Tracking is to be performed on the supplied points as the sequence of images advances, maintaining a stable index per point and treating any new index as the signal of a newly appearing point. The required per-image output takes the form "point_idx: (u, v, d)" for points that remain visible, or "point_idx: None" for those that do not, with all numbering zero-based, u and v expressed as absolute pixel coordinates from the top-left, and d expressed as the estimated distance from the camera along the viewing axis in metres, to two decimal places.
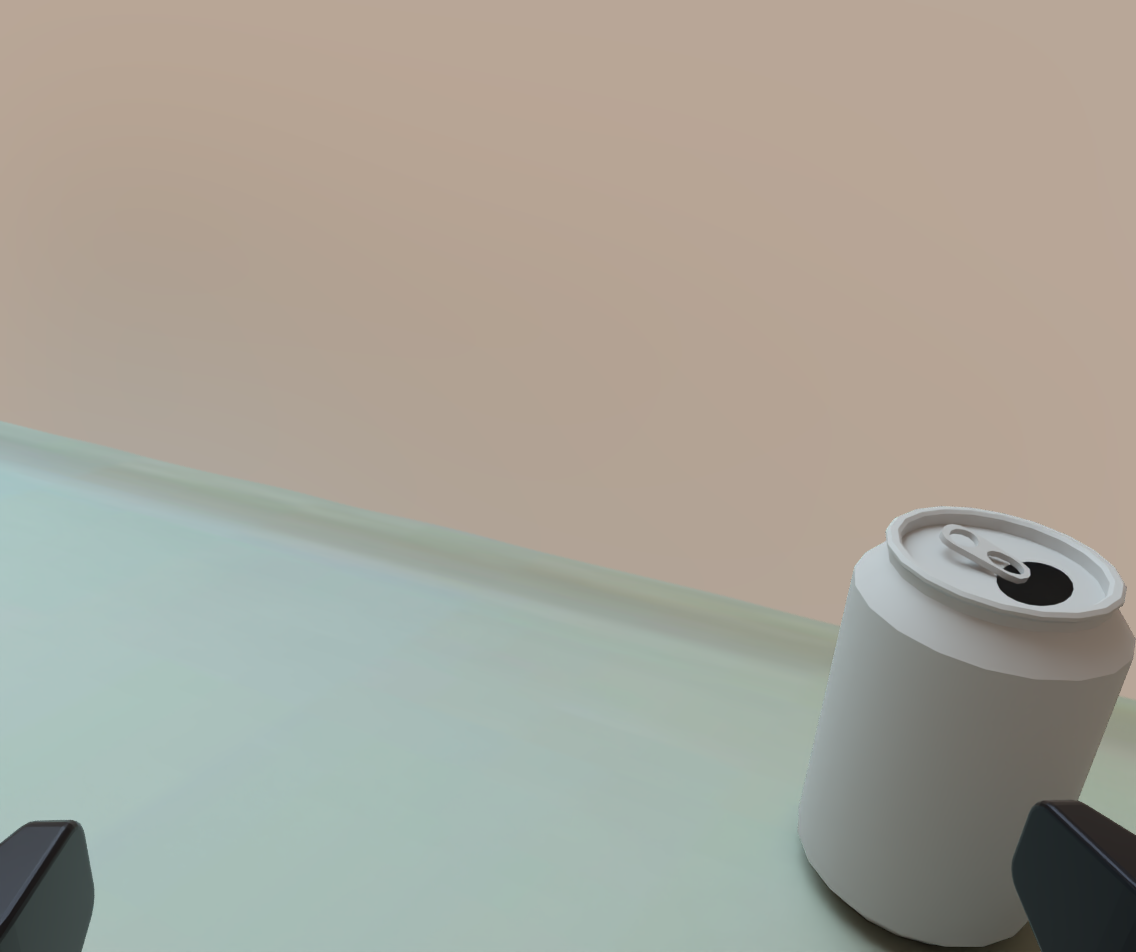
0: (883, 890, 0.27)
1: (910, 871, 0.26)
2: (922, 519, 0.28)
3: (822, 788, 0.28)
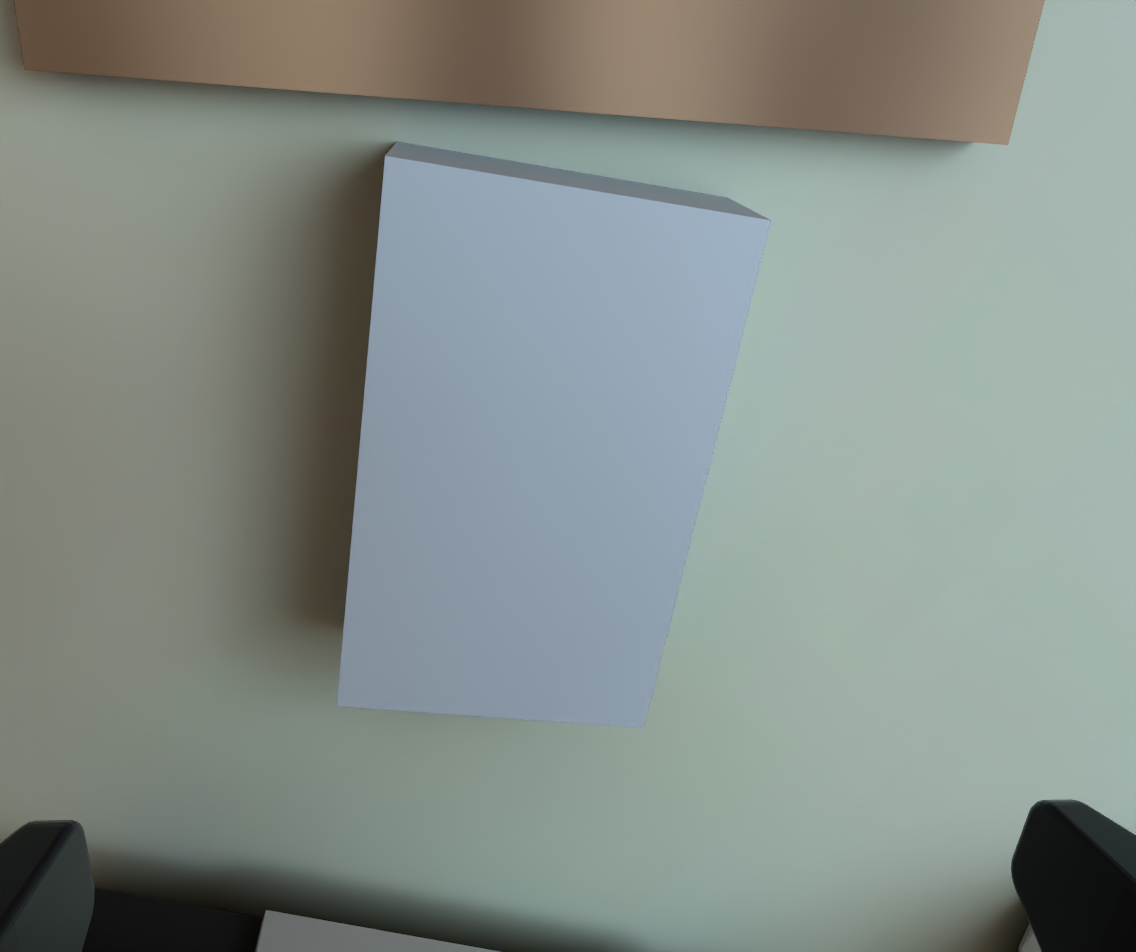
0: None
1: None
2: None
3: None
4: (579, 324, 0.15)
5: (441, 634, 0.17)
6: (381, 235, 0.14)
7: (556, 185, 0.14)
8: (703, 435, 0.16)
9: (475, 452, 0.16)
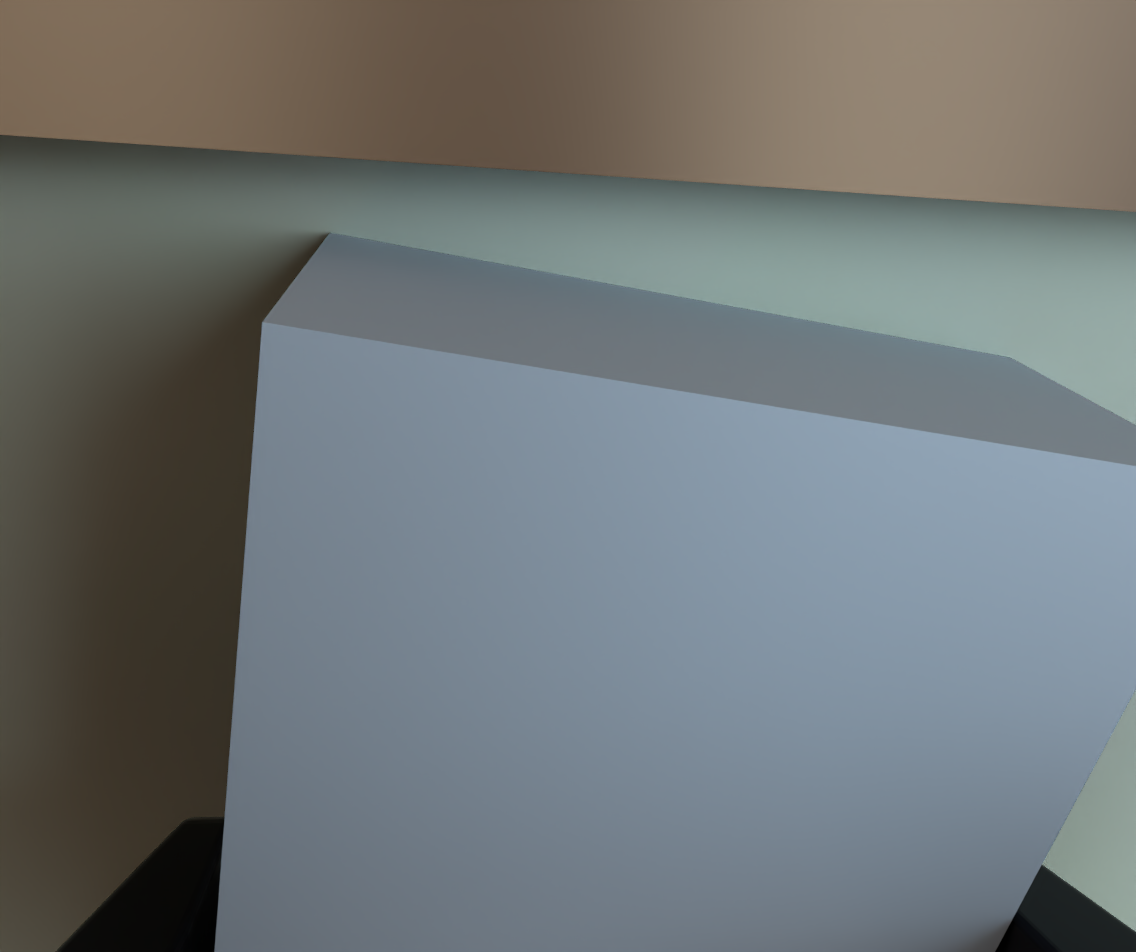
0: None
1: None
2: None
3: None
4: (750, 709, 0.06)
5: None
6: (256, 520, 0.05)
7: (730, 403, 0.05)
8: (990, 906, 0.07)
9: None
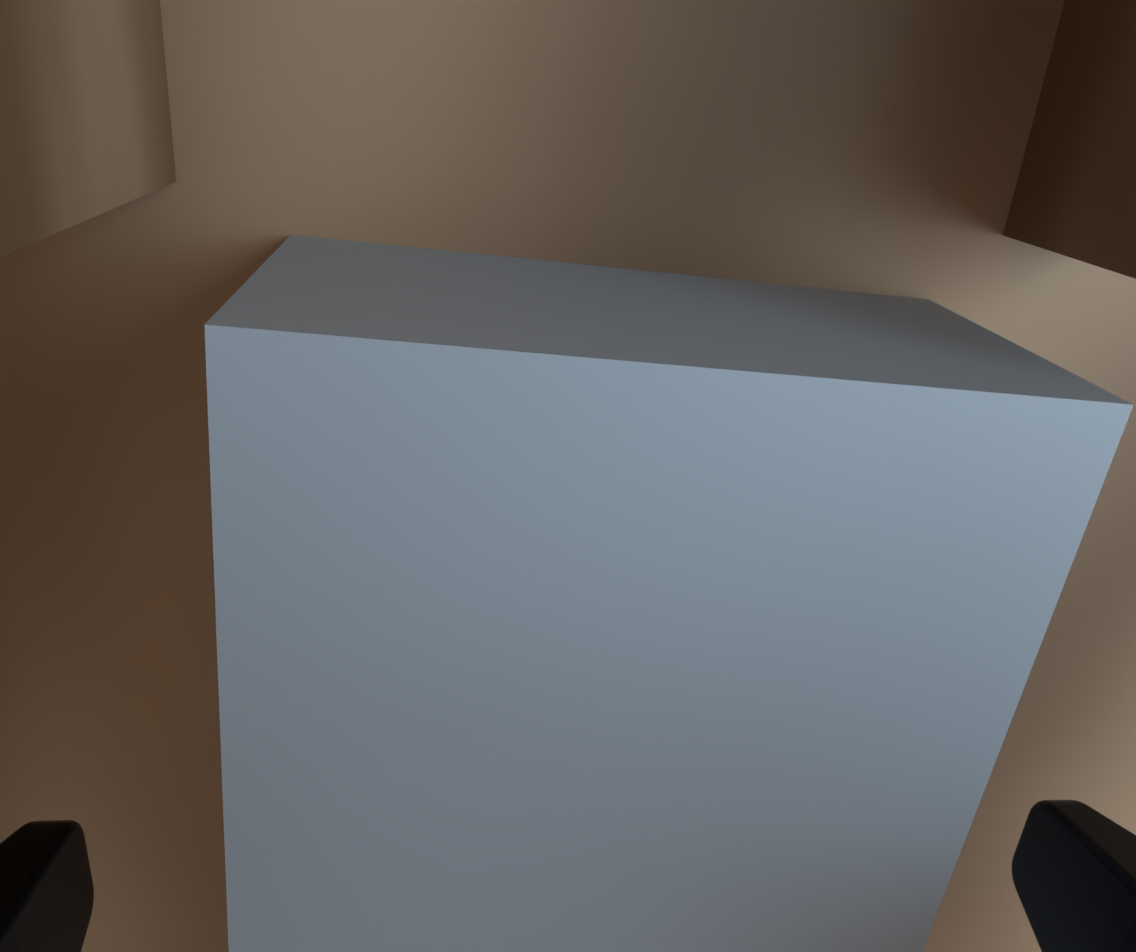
0: None
1: None
2: None
3: None
4: (689, 646, 0.07)
5: None
6: (220, 502, 0.06)
7: (635, 366, 0.06)
8: (945, 821, 0.08)
9: (474, 891, 0.07)
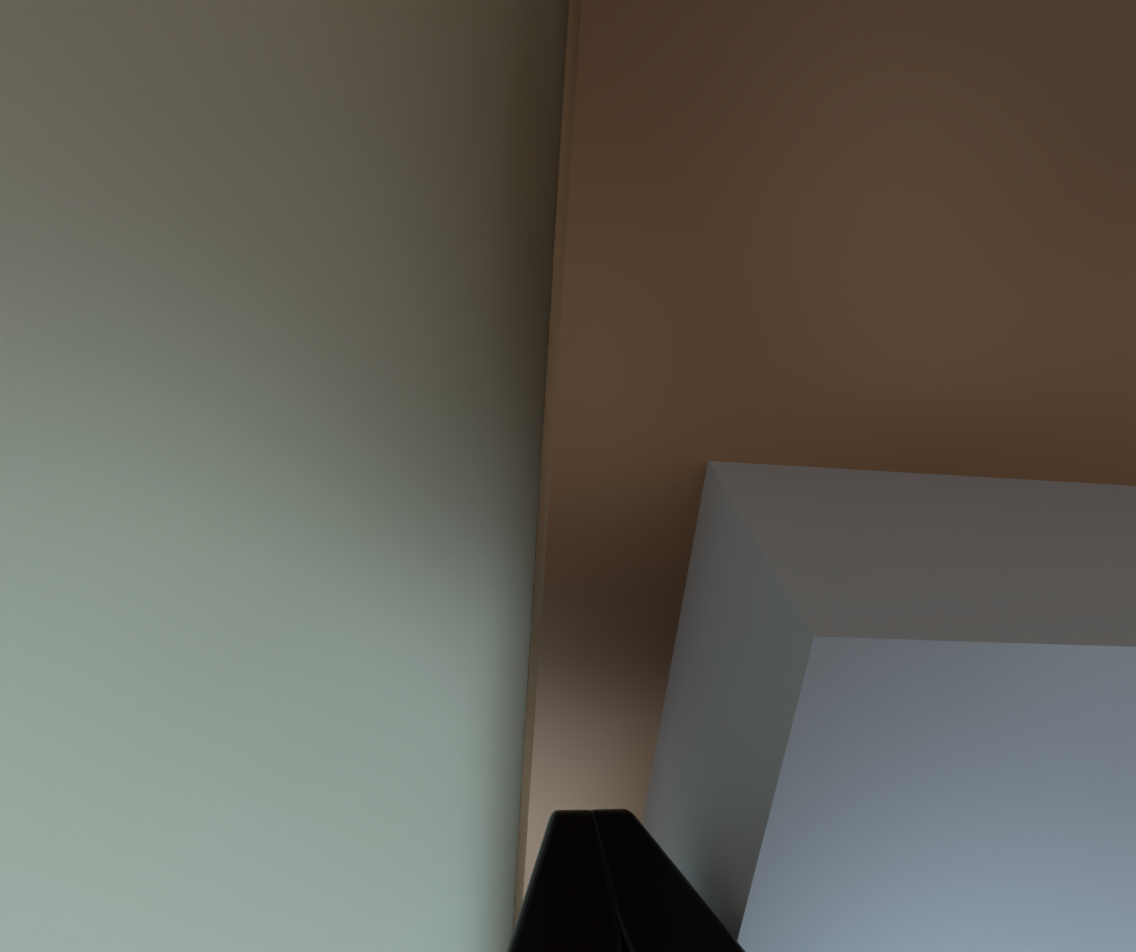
0: None
1: None
2: None
3: None
4: None
5: (985, 833, 0.07)
6: None
7: None
8: None
9: None
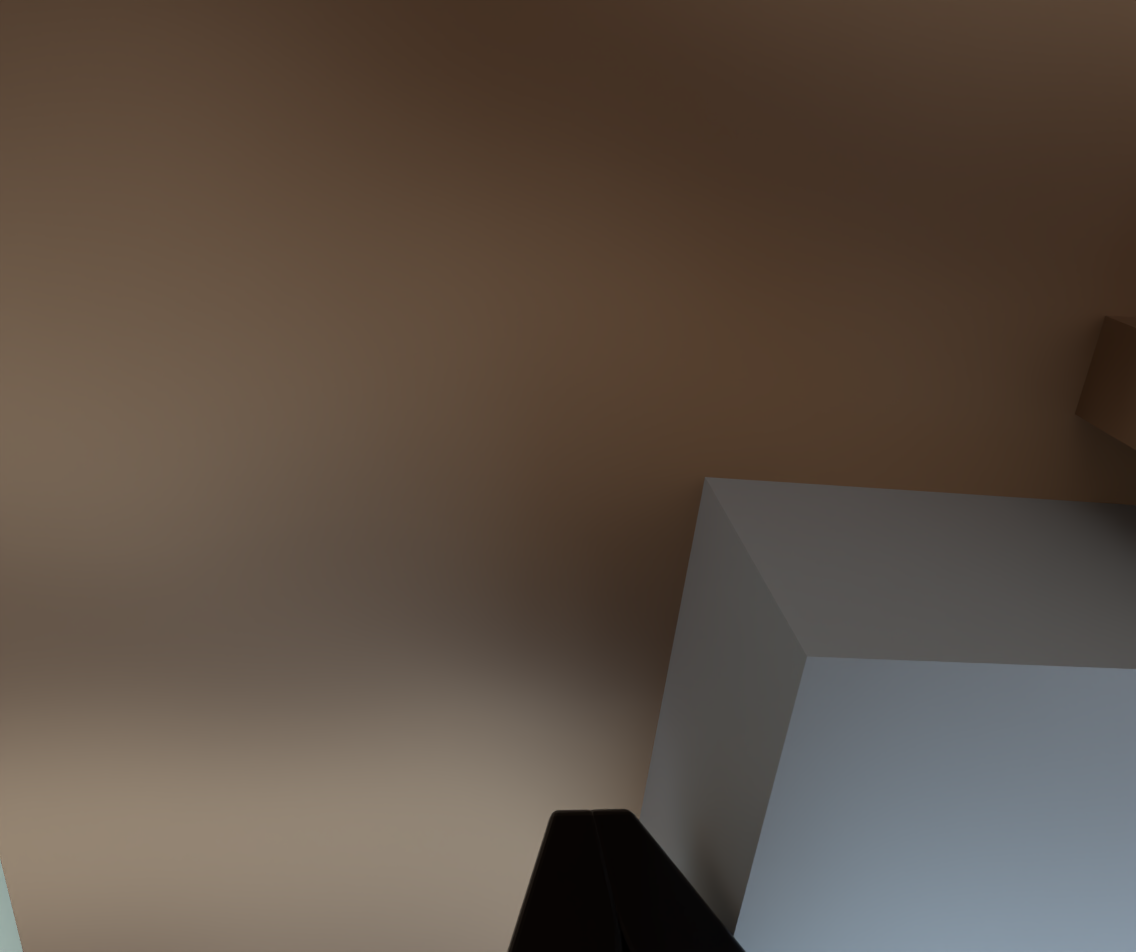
0: None
1: None
2: None
3: None
4: None
5: (973, 849, 0.07)
6: None
7: None
8: None
9: None
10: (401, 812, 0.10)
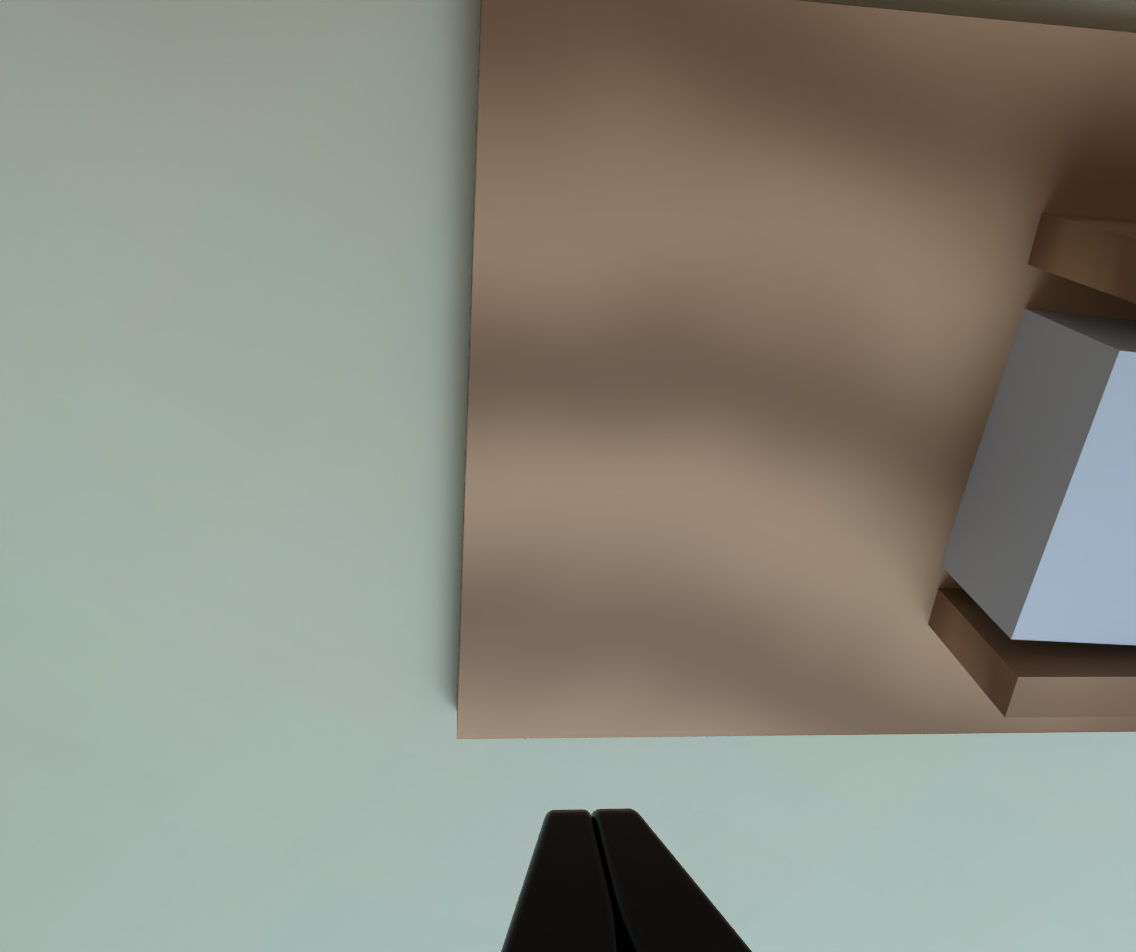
0: None
1: None
2: None
3: None
4: None
5: None
6: None
7: None
8: None
9: None
10: (671, 484, 0.20)
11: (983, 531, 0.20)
